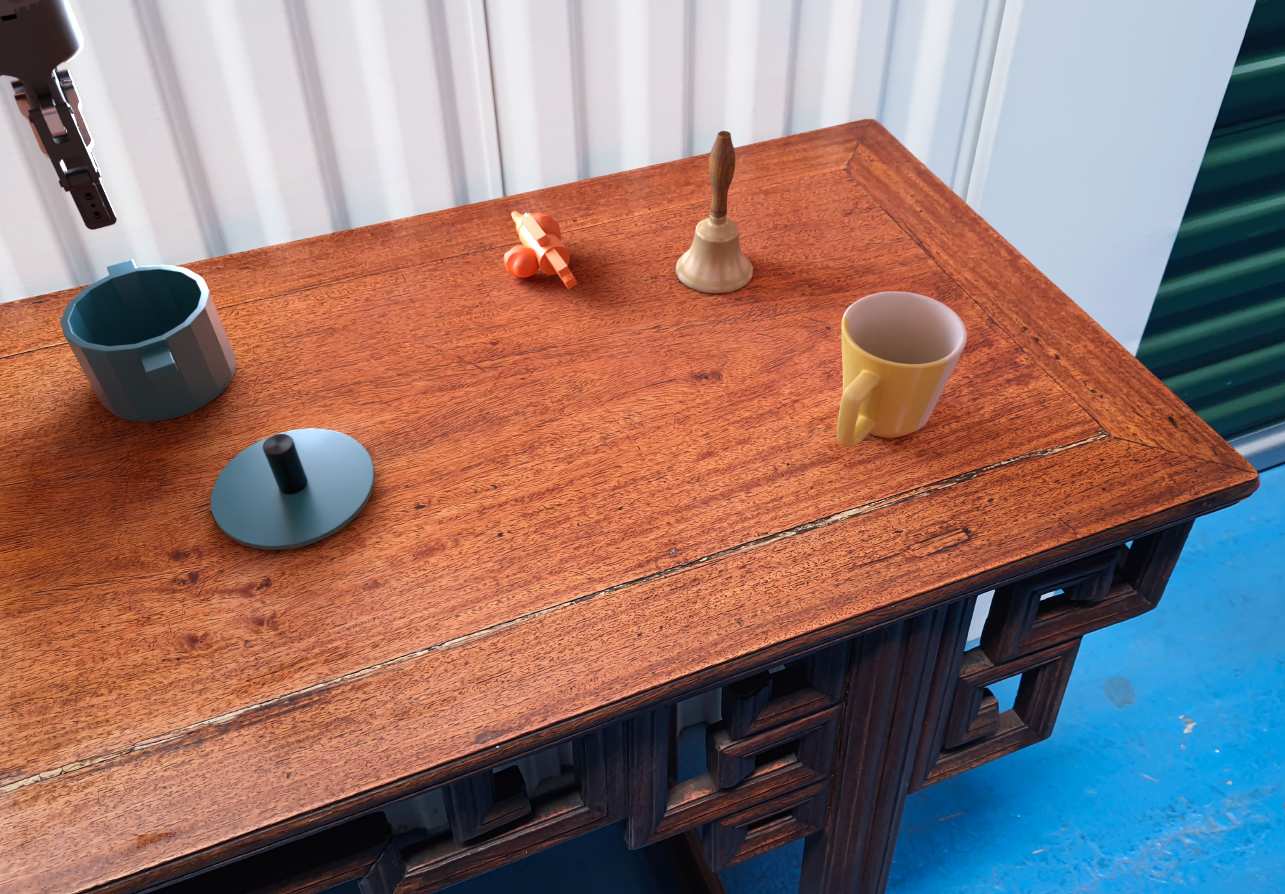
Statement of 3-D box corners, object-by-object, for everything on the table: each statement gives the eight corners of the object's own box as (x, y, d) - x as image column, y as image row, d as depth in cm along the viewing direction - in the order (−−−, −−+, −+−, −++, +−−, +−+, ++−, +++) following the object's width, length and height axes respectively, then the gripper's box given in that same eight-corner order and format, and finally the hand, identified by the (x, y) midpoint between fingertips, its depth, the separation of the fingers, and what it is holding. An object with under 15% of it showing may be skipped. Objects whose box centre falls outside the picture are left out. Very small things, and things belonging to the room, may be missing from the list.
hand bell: (755, 251, 109) (767, 114, 97) (750, 297, 103) (762, 157, 91) (680, 245, 109) (683, 109, 98) (670, 291, 104) (673, 151, 92)
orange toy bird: (581, 246, 99) (536, 189, 107) (518, 285, 99) (477, 225, 107) (598, 280, 103) (553, 223, 111) (537, 318, 103) (496, 258, 110)
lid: (238, 580, 78) (214, 532, 74) (197, 473, 86) (174, 424, 82) (399, 512, 83) (386, 464, 78) (346, 417, 91) (331, 368, 87)
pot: (119, 458, 87) (79, 387, 81) (84, 347, 98) (46, 277, 92) (259, 408, 92) (231, 336, 86) (211, 307, 103) (183, 237, 96)
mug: (877, 364, 95) (896, 274, 88) (964, 420, 90) (992, 329, 82) (777, 430, 89) (788, 339, 82) (864, 494, 84) (885, 403, 76)
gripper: (-70, -37, 70) (32, 171, 81) (-58, 36, 61) (54, 258, 73) (45, -56, 72) (128, 148, 84) (72, 12, 64) (161, 229, 75)
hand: (94, 199), depth 78 cm, fingers open, 8 cm apart
